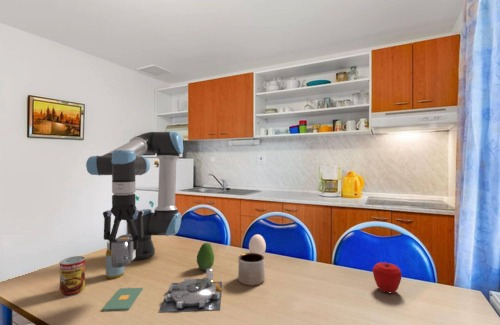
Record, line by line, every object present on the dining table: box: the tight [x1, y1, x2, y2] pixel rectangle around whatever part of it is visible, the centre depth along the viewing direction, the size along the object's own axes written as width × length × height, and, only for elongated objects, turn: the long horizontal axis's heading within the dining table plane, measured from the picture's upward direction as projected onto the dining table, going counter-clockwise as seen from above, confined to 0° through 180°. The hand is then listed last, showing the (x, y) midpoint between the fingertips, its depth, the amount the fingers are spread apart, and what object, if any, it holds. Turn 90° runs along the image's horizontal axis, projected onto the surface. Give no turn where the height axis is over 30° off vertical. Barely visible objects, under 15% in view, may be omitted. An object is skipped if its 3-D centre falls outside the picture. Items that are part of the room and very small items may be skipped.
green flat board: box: [101, 287, 144, 312], centre depth 94 cm, size 14×8×1 cm, turn 4°
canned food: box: [59, 255, 86, 298], centre depth 100 cm, size 8×8×12 cm
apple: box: [372, 262, 403, 293], centre depth 101 cm, size 10×10×11 cm
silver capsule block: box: [111, 233, 133, 268], centre depth 94 cm, size 12×6×8 cm, turn 4°
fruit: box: [196, 242, 215, 271], centre depth 120 cm, size 8×8×12 cm
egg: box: [248, 234, 267, 256], centre depth 136 cm, size 9×9×12 cm
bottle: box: [105, 240, 125, 280], centre depth 113 cm, size 7×7×15 cm
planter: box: [237, 252, 266, 287], centre depth 109 cm, size 11×11×10 cm
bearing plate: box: [158, 281, 223, 313], centre depth 97 cm, size 20×20×1 cm
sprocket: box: [165, 267, 220, 308], centre depth 97 cm, size 20×20×8 cm
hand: (124, 258), depth 94 cm, fingers closed on silver capsule block, 5 cm apart
